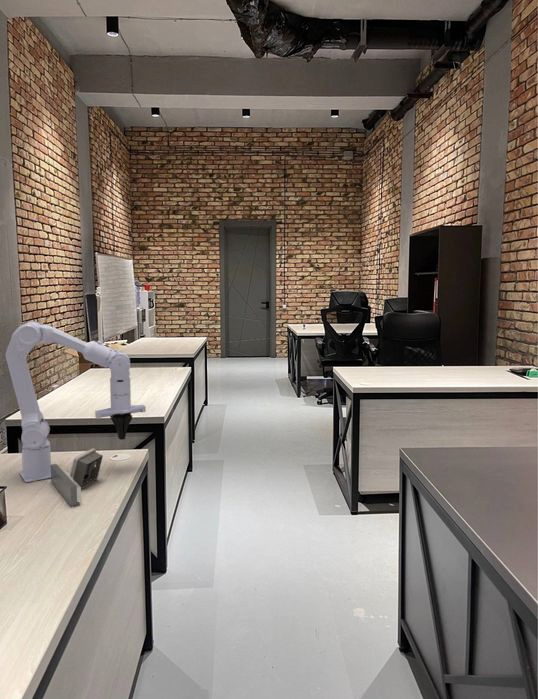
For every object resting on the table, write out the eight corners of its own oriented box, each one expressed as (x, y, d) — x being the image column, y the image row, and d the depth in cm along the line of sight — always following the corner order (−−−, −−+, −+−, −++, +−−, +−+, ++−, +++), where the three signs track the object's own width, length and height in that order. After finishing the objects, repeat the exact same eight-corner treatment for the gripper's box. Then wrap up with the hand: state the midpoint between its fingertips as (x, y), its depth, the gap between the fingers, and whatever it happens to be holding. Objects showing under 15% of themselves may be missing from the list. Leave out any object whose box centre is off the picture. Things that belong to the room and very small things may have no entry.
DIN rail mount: (51, 482, 148) (50, 464, 147) (60, 480, 149) (59, 463, 149) (71, 506, 132) (70, 487, 131) (81, 504, 133) (80, 485, 133)
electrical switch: (86, 477, 152) (88, 446, 151) (102, 481, 151) (104, 449, 149) (66, 489, 143) (68, 456, 142) (83, 493, 142) (85, 460, 140)
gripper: (100, 398, 148) (101, 446, 150) (149, 393, 157) (150, 437, 159) (92, 394, 154) (93, 440, 156) (140, 389, 163) (141, 432, 164)
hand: (121, 438), depth 158 cm, fingers closed
